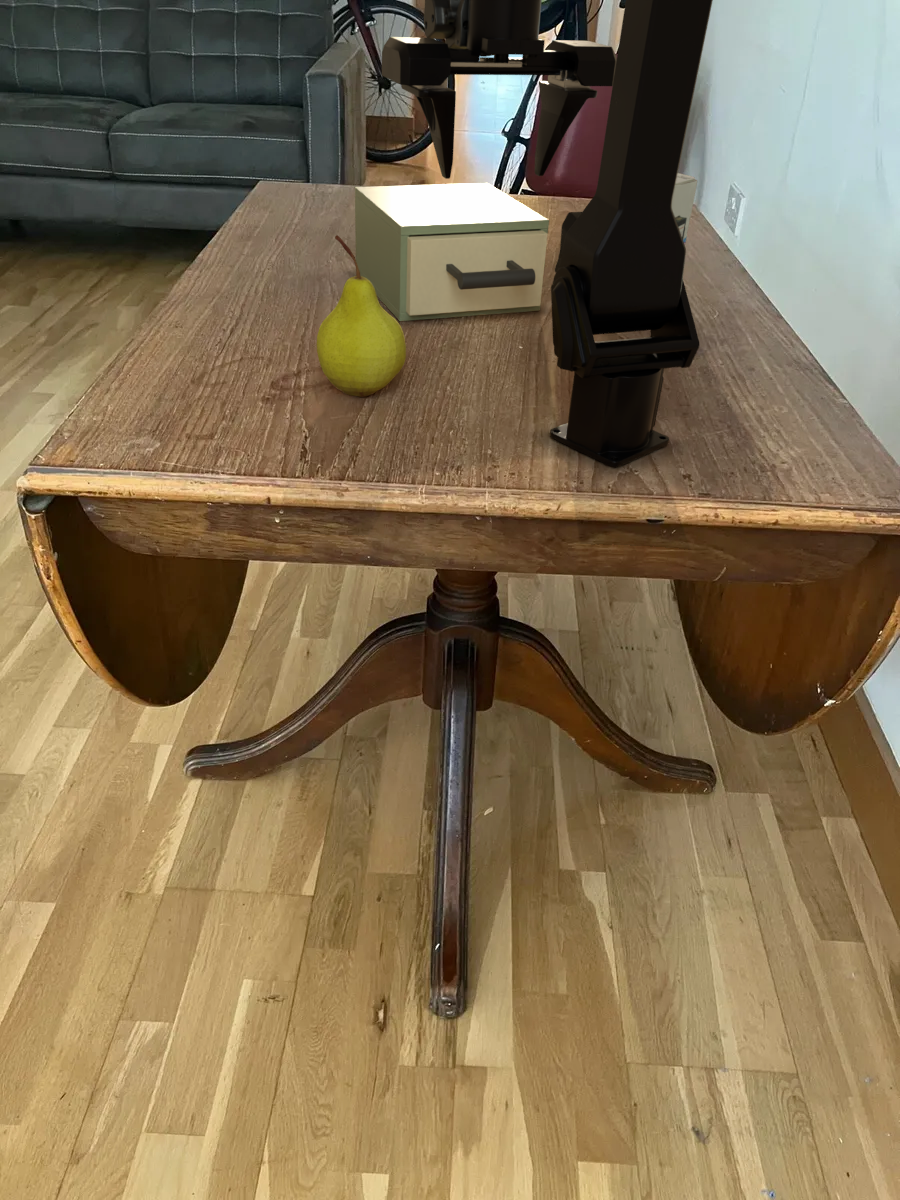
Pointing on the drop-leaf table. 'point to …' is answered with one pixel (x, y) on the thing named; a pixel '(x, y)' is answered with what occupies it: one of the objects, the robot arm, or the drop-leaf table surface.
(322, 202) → the drop-leaf table surface
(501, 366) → the drop-leaf table surface
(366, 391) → the fruit
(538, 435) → the drop-leaf table surface
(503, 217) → the cabinet
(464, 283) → the drawer
